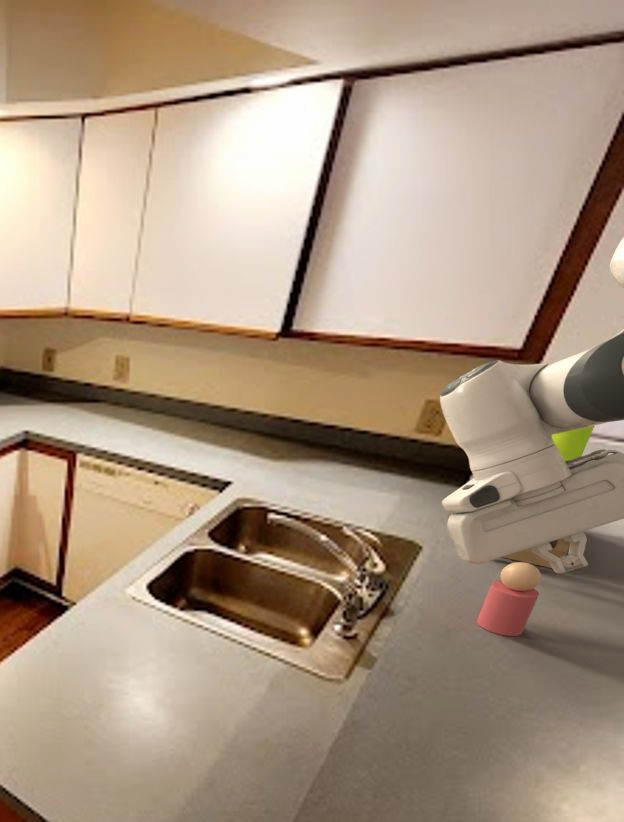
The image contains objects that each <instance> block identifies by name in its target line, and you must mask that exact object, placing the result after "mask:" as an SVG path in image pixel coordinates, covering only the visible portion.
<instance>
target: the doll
mask: <svg viewBox="0 0 624 822" xmlns="http://www.w3.org/2000/svg"><path fill="white" fill-rule="evenodd" d="M499 577H500V580H495V581H493V582H491V585H490V588H489V590H488V593H487V595H486V598H485V600H484V602H483V606H482V607H481V609H480V612H479V615H478V617H477V620H476V622H477V624H478V626H479V627H481V628H482V629H485V630H486V631H488V632H491V633H493V634H497V635H501V636H505V637H506V636H507V637H518V636H521V635H522V634H523V632H524V630H525V627H526V626H527V623H528V621H529V618H530V617H531V615H532V612H533V609H534V607H535V605H536V603H537V601H538V599H539V596H540V592H539V591H538V589H536V587H538V586H539V585H540V583H541V580H542V574H541V572H540V569H538V568H537V567H536V566H535V565H534V564H531V563H526V562H522V561H518V562H511V563H509V564H507V565H505V566H504V567H503V569H502V570H501V571H500V574H499Z"/></svg>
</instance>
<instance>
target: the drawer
mask: <svg viewBox="0 0 624 822" xmlns="http://www.w3.org/2000/svg"><path fill="white" fill-rule="evenodd" d="M549 543H550V545H551V547H552V550H549V551H548V552H550V553H551V554H553V555H555V556H556V557H558V558H560V557H563V556H566V553H567V554H568V552H569V550H568V549H569V547H570V542H565V541H564V539H563V538H560V539H557V540H554V541H551V542H549ZM567 551H568V552H567ZM502 558H503V559H508V560H513V561H518V562H524V563H529V564H531V565H534V566H535V565H536V566H540V567H545V568H550V569H553V568H552V566H551V565H550V563H549V561H546V560H545V559H543V558H541V557H539V556H538V555H536V554H534V553H532V551H531V549H530V548H529V549H526V550H522V551H519V552H516V553H513V554H510V555H507V556H503V557H502Z"/></svg>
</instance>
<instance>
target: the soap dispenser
mask: <svg viewBox="0 0 624 822" xmlns="http://www.w3.org/2000/svg"><path fill="white" fill-rule="evenodd" d="M594 429H595V426H591V427H586V428H582V429H576V430H572V431H568V432H563V433H558V434H553V435H552V439H553V441H554V442H555V445H556V446H557V448H558V449H559V451H560V453H561V455H562V457H563V459H564V460H565V461H568V460H571V459H574V458H577V457H581V456H583V454H584V452H585V450H586V447H587V445H588V442H589V440H590V438H591V436H592V433H593V431H594Z"/></svg>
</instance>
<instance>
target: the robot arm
mask: <svg viewBox="0 0 624 822" xmlns="http://www.w3.org/2000/svg"><path fill="white" fill-rule="evenodd" d="M611 257H612V258H611V260H610V262H609V270H610V273H611V276H612V277H613V279H614V280H615V282H616V283H617V284H618V285H619V286H620V287H622V288H623V289H624V236H623V237H622V239H621V240H620V241H619V243H618V245H617V247H616V248H615V251H614V253H613V255H612V256H611ZM439 404H440V409H441V412H442V414H443V418H444V420H445V422H446V425H447V427H448V430H449V432H450V433H451V435H452V437H453V439H454V441H455V443H456V444H457V445H458V446H459V448H461V449H462V451H464V452H465V454H466V456H467V458H468V464H469V469H470V471H471V474H472V475H473V478H472V479H470V480H468V482H466V483H465V484H463V485H462V486H461V487H459V488H458V489H456V490H455V491H453V492H452V493H450V494H449V495H447V496H446V497H445V498H444V499H443V500H442V501H441V505H442V507H443V509H444V510H445V511H446V512H448V513H452V514H450V515H449V517H448V518H447V531H448V534H449V537H450V540H451V542H452V545H453V547H454V550H455V552H456V554H457V556H458V557H459V558H460V559H461V560H462V561H463V562H466V563H469V564H474V565H480V564H485V563H488V562H490V561H494V560H497V559H500V558H504V557H503V556H507V555H510V554H513V553H516V552H519V551H522V550H526V549H529V548H530V549H531V551H532V553H534V554H536V555H538V556H539V557H541V558H543V559H545V560H546V561H549V563H550V565H551V566H552V568H551V569H552V570H553V571H554V573H556V574H560V575H561V574H565V573H567V572H571V571H574V570H575V571H576V570H578V569H582V568H584V567H588V566H589V563H588V561H587V559H586V558H585V555H584V554H585V550H586V546H587V541H588V538H587V536H586V534H585V533H584V532H585V531H586V532H587V531H589V530H591V529H595V528H598V527H601V526H605V525H607V524H611V523H614V522H617V521H620V520H623V519H624V453H623V452H621V451H619V450H615V449H605V448H602V449H597V450H594V451H592V452H590V453H588V454H584V455H582V456H581V457H577V458H574V459H571V460H568V461H565V460H564V459H563V457H562V455H561V453H560V451H559V449H558V448H557V446H556V445H555V442H554V441H553V439H552V435H553V434H558V433H563V432H568V431H572V430H576V429H582V428H586V427H591V426H594V427H595V426H598V425H602V424H607V423H612V422H619V421H624V328H623V329H622V330H621V331H620V332H619V333H616V334H615V335H614V336H612V337H610V338H608V339H607V340H605V341H603V342H601V343H599V344H597V345H595V346H593V347H591V348H589V349H586V350H584V351H581V352H579V353H576V354H574V355H571V356H568V357H566V358H562V359H560V360H557V361H555V362H551V363H549V362H544V363H534V364H516V363H508V362H504V361H502V360H500V359H497V360H491V361H489V362H486V363H483V364H481V365H479V366H476V367H475V368H473V369H472V370H470V371H468V372H466V373H463V374H461V375H460V376H458V377H456V378H454V379H453V380H452V381H451V382H449V383H447V385H445V387H444V388H443V389H442V391H440V395H439ZM560 538H563V539H564V541H565V542H570V547H569V550H568V554H567V555H566V556H563V557H560V558H558V557H556V556H555V555H553V554H551V553H550V552H548V551H549V550H552V547H551V545H550V543H549V542H551V541H554V540H557V539H560Z"/></svg>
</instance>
